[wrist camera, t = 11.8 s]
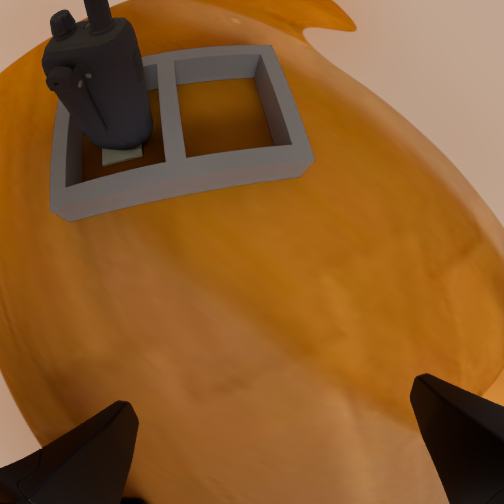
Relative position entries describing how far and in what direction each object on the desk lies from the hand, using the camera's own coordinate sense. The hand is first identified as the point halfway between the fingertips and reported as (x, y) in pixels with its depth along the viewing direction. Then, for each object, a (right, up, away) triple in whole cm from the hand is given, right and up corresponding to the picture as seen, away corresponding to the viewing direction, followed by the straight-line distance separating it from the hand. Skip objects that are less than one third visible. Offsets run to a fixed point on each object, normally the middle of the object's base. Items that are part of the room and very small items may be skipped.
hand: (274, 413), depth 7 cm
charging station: (-6, +14, +11) cm, 19 cm away
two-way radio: (-10, +13, +10) cm, 19 cm away
